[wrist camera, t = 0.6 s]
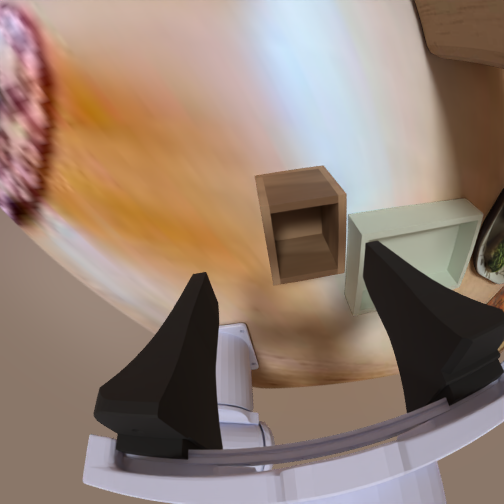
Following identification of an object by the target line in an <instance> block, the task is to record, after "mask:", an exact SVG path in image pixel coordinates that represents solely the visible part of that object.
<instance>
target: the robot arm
mask: <svg viewBox="0 0 504 504" xmlns="http://www.w3.org/2000/svg"><path fill="white" fill-rule="evenodd" d="M363 279H364V282H365V285H366V288H367V291H368V293H369V296H370V298H371V300H372V302H373V304H374V306H375V308H376V310H377V312H378V314H379V316H380V318H381V321H382V323H383V325H384V327H385V329H386V331H387V333H388V336H389V338H390V341H391V344H392V347H393V350H394V354H395V357H396V361H397V364H398V368H399V372H400V376H401V381H402V385H403V390H404V396H405V402H406V409H407V414H404V415H401V416H398V417H396V418H393V419H390V420H387V421H384V422H381V423H377V424H374V425H371V426H367V427H364V428H360V429H357V430H353V431H349V432H346V433H341V434H337V435H333V436H328V437H324V438H318V439H313V440H308V441H302V442H297V443H289V444H282V445H275V443H274V437H273V434H272V432H271V430H270V428H269V427H268V426H267V425H266V423H265V422H262V421H259V417H258V413H255V412H253V393H252V376H251V370H253V369H258V368H259V365H258V361H257V358H256V355H255V352H254V349H253V346H252V342H251V339H250V336H249V333H248V330H247V326H246V324H244V323H237V324H229V325H222V326H219V308H218V301H217V299H216V296H215V294H214V291H213V289H212V286H211V283H210V281H209V278H208V276H207V273H206V272H203V273H197V274H193V275H192V277H191V278H190V280H189V282H188V284H187V286H186V287H185V289H184V291H183V293H182V294H181V296H180V298H179V300H178V301H177V303H176V305H175V306H174V308H173V310H172V311H171V313H170V314H169V316H168V317H167V319H166V320H165V322H164V323H163V325H162V326H161V328H160V329H159V331H158V332H157V333H156V335H155V336H154V337H153V338H152V340H151V341H150V342H149V343H148V344H147V345H146V347H145V348H144V349H143V350H142V351H141V352H140V353H139V354H138V355H137V356H136V358H134V360H132V361H131V362H130V363H129V364H128V365H127V366H126V367H125V368H124V369H123V370H122V371H120V373H118V374H117V375H116V376H114V377H113V378H112V379H111V380H109V381H108V382H107V383H105V384H104V385H103V386H101V387H100V389H99V393H98V397H97V401H96V405H95V410H94V417H95V418H96V419H97V421H98V422H100V423H101V424H103V425H104V426H106V427H107V428H109V429H111V430H112V431H114V432H116V433H117V434H118V436H117V440H116V439H114V438H110V437H105V436H99V435H94V434H91V435H90V436H89V442H88V447H87V454H86V460H85V468H84V475H83V483H85V484H88V485H91V486H94V487H97V488H101V489H104V490H108V491H112V492H116V493H119V494H123V495H128V496H132V497H137V498H143V499H148V500H154V501H160V502H166V503H175V504H447V503H446V498H445V493H444V489H443V484H442V480H441V475H440V471H439V468H438V463H437V460H439V459H441V458H444V457H446V456H447V455H449V454H451V453H453V452H455V451H457V450H459V449H460V448H462V447H464V446H466V445H468V444H469V443H471V442H473V441H474V440H476V439H478V438H479V437H481V436H482V435H484V434H486V433H487V432H489V431H490V430H492V429H493V428H495V427H496V426H497V425H499V424H500V423H502V422H503V421H504V361H503V362H502V363H501V364H500V362H499V360H498V358H499V357H500V353H499V351H498V348H499V347H500V345H501V344H502V343H503V341H504V312H503V310H502V309H500V308H497V307H493V306H490V305H487V304H483V303H481V302H478V301H475V300H473V299H470V298H468V297H466V296H463V295H461V294H459V293H457V292H455V291H453V290H451V289H449V288H447V287H445V286H443V285H442V284H440V283H438V282H436V281H435V280H433V279H431V278H430V277H428V276H427V275H425V274H424V273H422V272H421V271H419V270H418V269H416V268H415V267H413V266H412V265H410V264H409V263H408V262H406V261H405V260H404V259H402V258H401V257H399V256H398V255H397V254H395V253H394V252H393V251H391V250H390V249H389V248H387V247H386V246H385V245H383V244H382V243H380V242H379V241H372V242H367V243H365V256H364V267H363ZM400 434H401V435H400ZM398 435H399V436H398ZM395 436H398V437H397V440H396V441H392V442H388V443H385V444H382V445H379V446H375V447H372V448H369V449H365V450H362V451H358V452H355V453H351V454H347V455H343V456H339V457H334V458H330V459H326V460H320V461H315V462H309V463H305V464H300V465H295V466H291V467H286V468H281V469H274V470H271V469H272V466H273V464H279V463H287V462H294V461H301V460H307V459H312V458H318V457H322V456H327V455H332V454H336V453H341V452H344V451H349V450H352V449H356V448H360V447H364V446H367V445H370V444H374V443H377V442H380V441H383V440H386V439H389V438H392V437H395Z"/></svg>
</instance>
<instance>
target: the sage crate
mask: <svg viewBox="0 0 504 504" xmlns="http://www.w3.org/2000/svg"><path fill="white" fill-rule="evenodd" d="M482 218H483V213H482V212H481V211H480V210H479V209H478V208H477V207H475V206H474V205H473V204H472V203H471V202H469V201H468V200H467V199H466V198H463V199H455V200H447V201H439V202H431V203H424V204H416V205H409V206H402V207H395V208H388V209H381V210H374V211H367V212H360V213H354V214H348V247H347V267H346V282H345V296H346V299H347V301H348V304H349V307H350V309H351V312H352V314H353V316H356V315H361V314H365V313H369V312H373V311H377V310H376V308H375V306H374V304H373V302H372V300H371V298H370V296H369V293H368V291H367V288H366V285H365V282H364V279H363V267H364V256H365V243H367V242H372V241H379V242H380V243H382V244H383V245H385V246H386V247H387V248H389V249H390V250H391V251H393V252H394V253H395V254H397V255H398V256H399V257H401V258H402V259H404V260H405V261H406V262H408V263H409V264H410V265H412V266H413V267H415V268H416V269H418V270H419V271H421V272H422V273H424V274H425V275H427V276H428V277H430V278H431V279H433V280H435V281H436V282H438V283H440V284H442V285H443V286H445V287H447V288H449V289H451V290H452V289H455V288H458V287H460V284H461V282H462V279H463V277H464V274H465V272H466V269H467V266H468V263H469V261H470V258H471V255H472V252H473V249H474V246H475V243H476V239H477V236H478V233H479V229H480V226H481V222H482Z"/></svg>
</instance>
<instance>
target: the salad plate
mask: <svg viewBox="0 0 504 504" xmlns="http://www.w3.org/2000/svg"><path fill="white" fill-rule="evenodd" d="M474 266H475V269H476V271H477V273H479V274H480V275H481V276H483V277H485V278H487V279H489V280H491V281H492V282H494V283H497V284H503V283H504V189H503V190H502V192H501V193H500V195H499V197H498V199H497V200H496V202H495V204H494V205H493V207H492V209H491V210H490V212H489V214H488V215H487V217H486V219H485V221H484V223H483V225H482V227H481V229H480V231H479V234H478V236H477V239H476V243H475V247H474Z"/></svg>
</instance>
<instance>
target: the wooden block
mask: <svg viewBox="0 0 504 504" xmlns="http://www.w3.org/2000/svg"><path fill="white" fill-rule="evenodd" d="M415 3H416V6H417V10H418V13H419V16H420V20H421V24H422V27H423V31H424V35H425V39H426V44H427V47H428V48H429V50H430V52H431V53H433V54H435V55H437V56H439V57H440V58H445V59H454V60H461V61H467V62H473V63H479V64H484V65H489V66H494V67H498V68H502V69H504V0H415Z"/></svg>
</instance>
